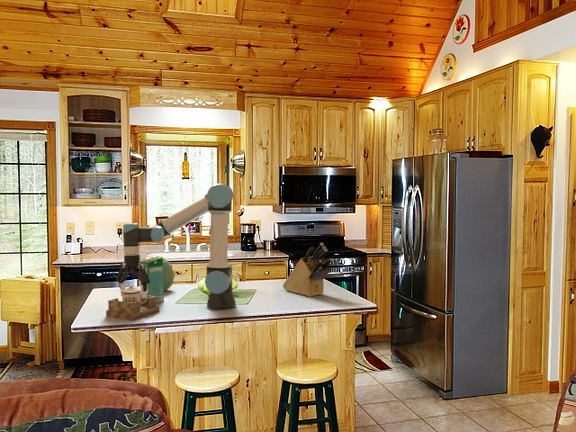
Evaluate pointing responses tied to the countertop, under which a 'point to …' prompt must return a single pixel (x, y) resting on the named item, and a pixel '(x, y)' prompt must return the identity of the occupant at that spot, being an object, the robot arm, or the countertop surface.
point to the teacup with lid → (132, 295)
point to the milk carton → (154, 276)
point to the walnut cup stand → (132, 308)
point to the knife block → (309, 273)
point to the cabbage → (167, 275)
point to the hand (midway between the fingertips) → (133, 296)
